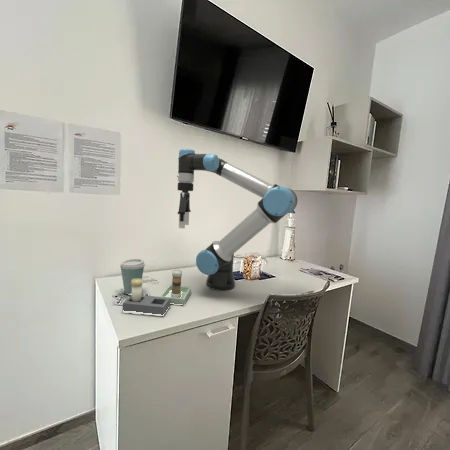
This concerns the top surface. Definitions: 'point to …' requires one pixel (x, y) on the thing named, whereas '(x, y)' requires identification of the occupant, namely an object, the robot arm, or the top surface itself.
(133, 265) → the disposable coffee cup
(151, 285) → the top surface
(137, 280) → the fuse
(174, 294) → the cylinder
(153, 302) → the grey rectangular block
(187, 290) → the parts tray
